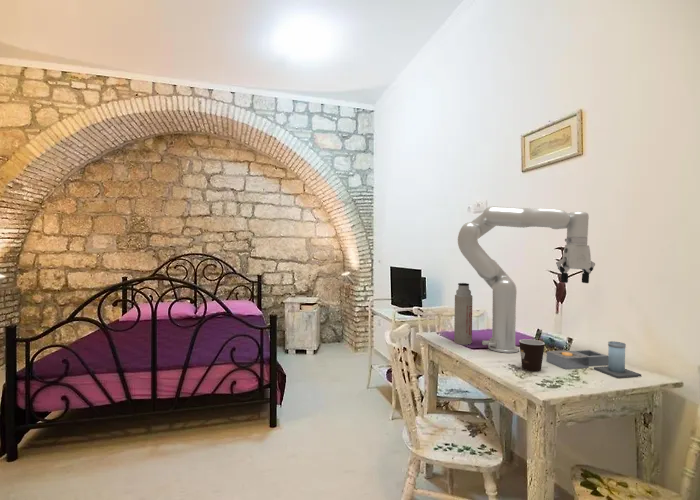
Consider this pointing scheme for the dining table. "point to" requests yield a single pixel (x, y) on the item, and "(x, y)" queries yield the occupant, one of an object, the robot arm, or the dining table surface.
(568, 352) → the plunger button
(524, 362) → the coffee mug
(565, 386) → the dining table surface
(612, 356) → the cylinder
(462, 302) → the thermos bottle
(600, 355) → the gray square tray
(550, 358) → the block
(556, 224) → the robot arm
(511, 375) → the dining table surface
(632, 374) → the rubber mat
